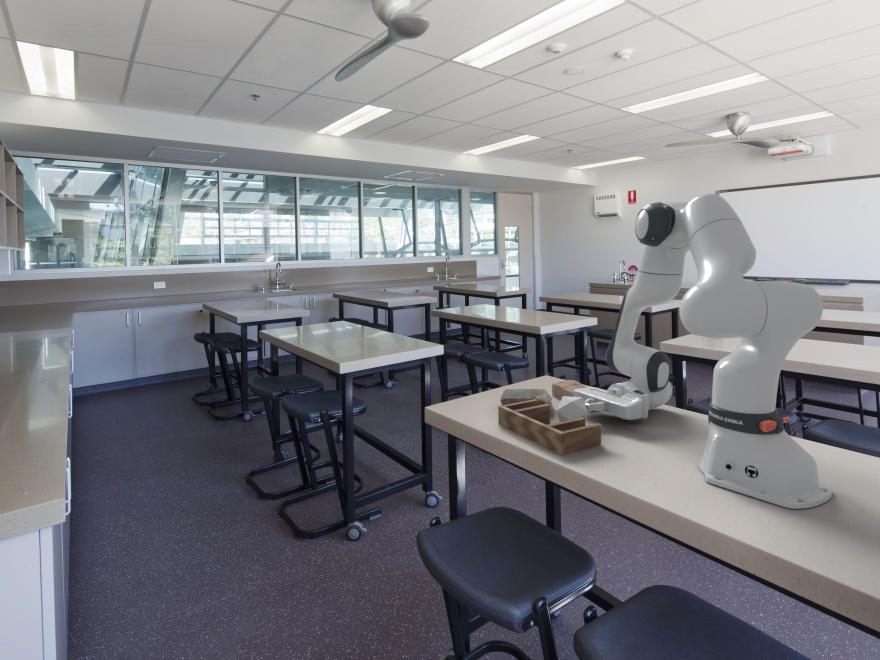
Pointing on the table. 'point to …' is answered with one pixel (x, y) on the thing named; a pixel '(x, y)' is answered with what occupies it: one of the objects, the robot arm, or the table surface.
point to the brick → (565, 388)
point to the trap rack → (548, 427)
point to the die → (571, 408)
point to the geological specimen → (526, 397)
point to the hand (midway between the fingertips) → (584, 406)
